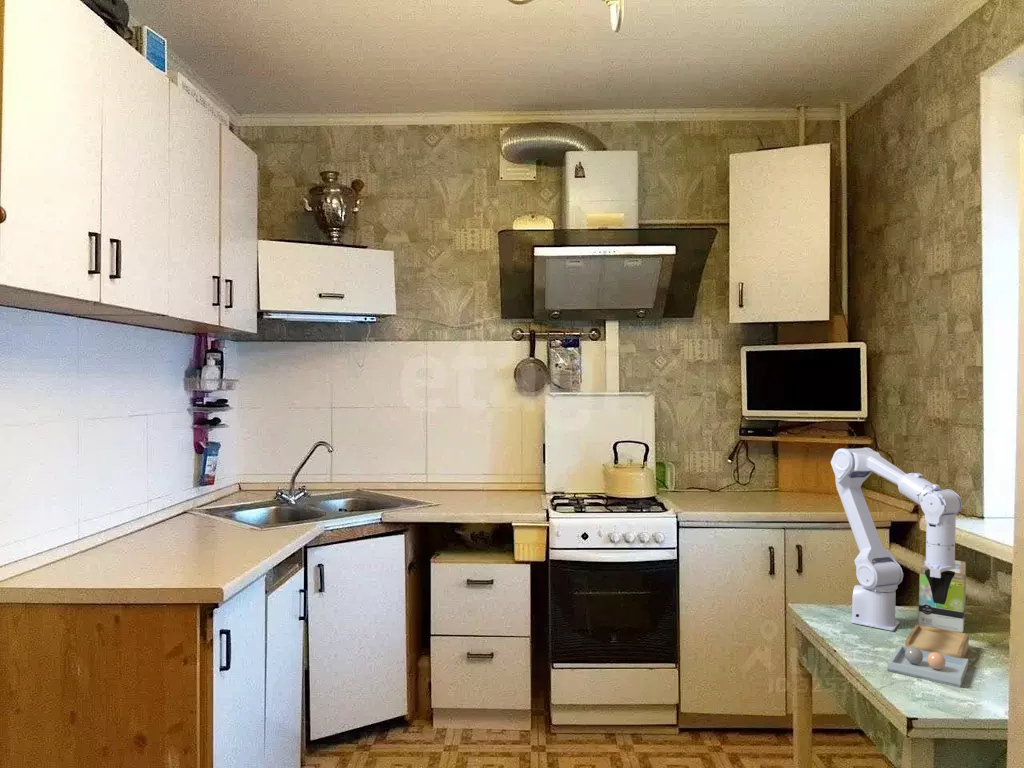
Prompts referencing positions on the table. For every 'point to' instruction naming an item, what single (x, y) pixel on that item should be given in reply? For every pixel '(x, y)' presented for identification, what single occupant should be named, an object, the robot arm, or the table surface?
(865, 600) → the robot arm
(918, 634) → the oak tray
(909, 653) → the pebble grey
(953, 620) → the tea box
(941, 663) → the pebble terracotta
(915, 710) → the table surface
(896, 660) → the ceramic dish
